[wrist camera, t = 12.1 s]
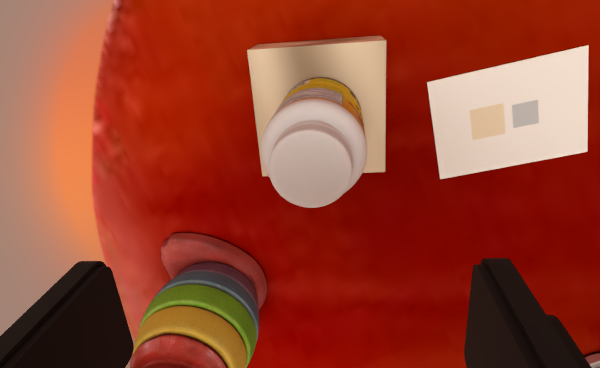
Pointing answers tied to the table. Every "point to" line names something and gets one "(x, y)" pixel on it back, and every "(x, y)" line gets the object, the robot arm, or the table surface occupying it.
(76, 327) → the robot arm
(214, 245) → the stacking bear
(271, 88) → the pedestal
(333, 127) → the supplement bottle
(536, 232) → the table surface
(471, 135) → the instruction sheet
